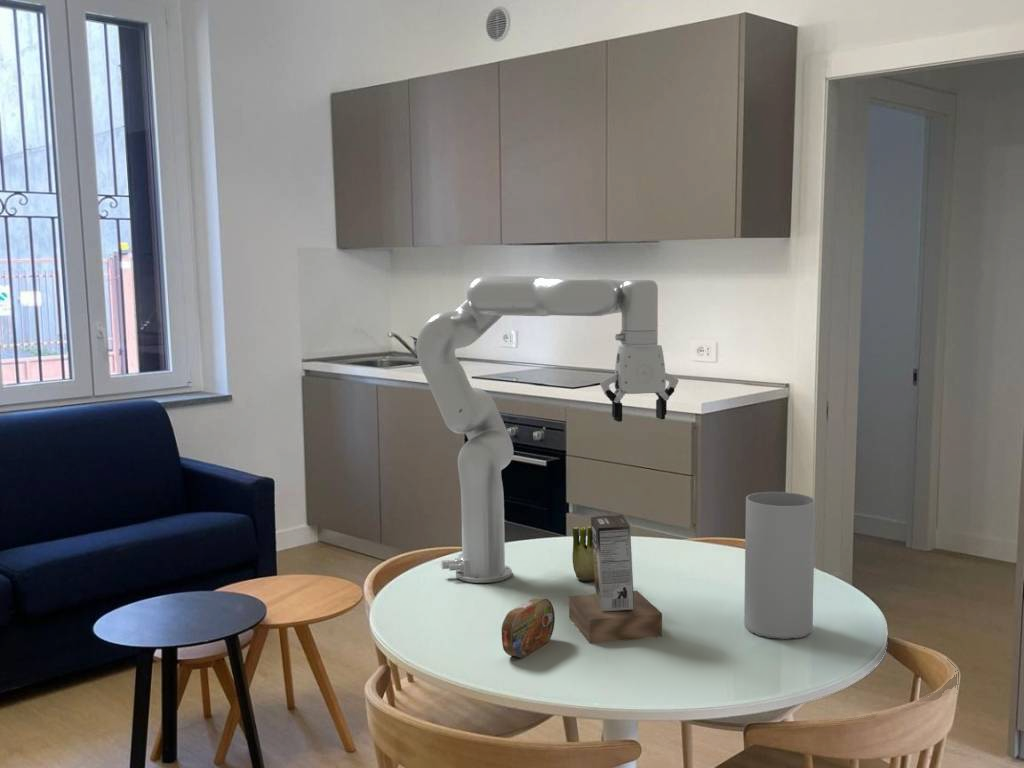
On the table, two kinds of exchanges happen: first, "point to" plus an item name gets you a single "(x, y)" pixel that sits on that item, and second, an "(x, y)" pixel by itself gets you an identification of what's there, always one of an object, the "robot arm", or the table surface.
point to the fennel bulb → (583, 554)
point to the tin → (528, 627)
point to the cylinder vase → (779, 564)
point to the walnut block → (615, 620)
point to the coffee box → (612, 562)
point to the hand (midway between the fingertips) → (639, 419)
